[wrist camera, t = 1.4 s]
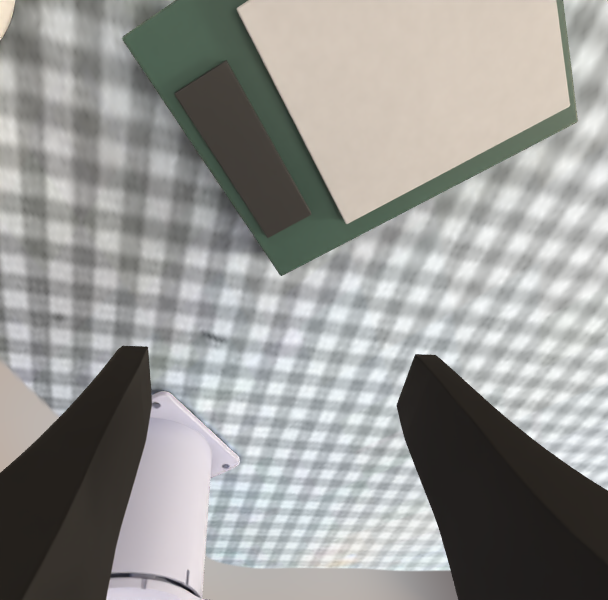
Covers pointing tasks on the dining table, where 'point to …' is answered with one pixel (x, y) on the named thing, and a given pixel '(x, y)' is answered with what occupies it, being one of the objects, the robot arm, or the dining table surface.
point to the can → (5, 15)
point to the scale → (354, 103)
